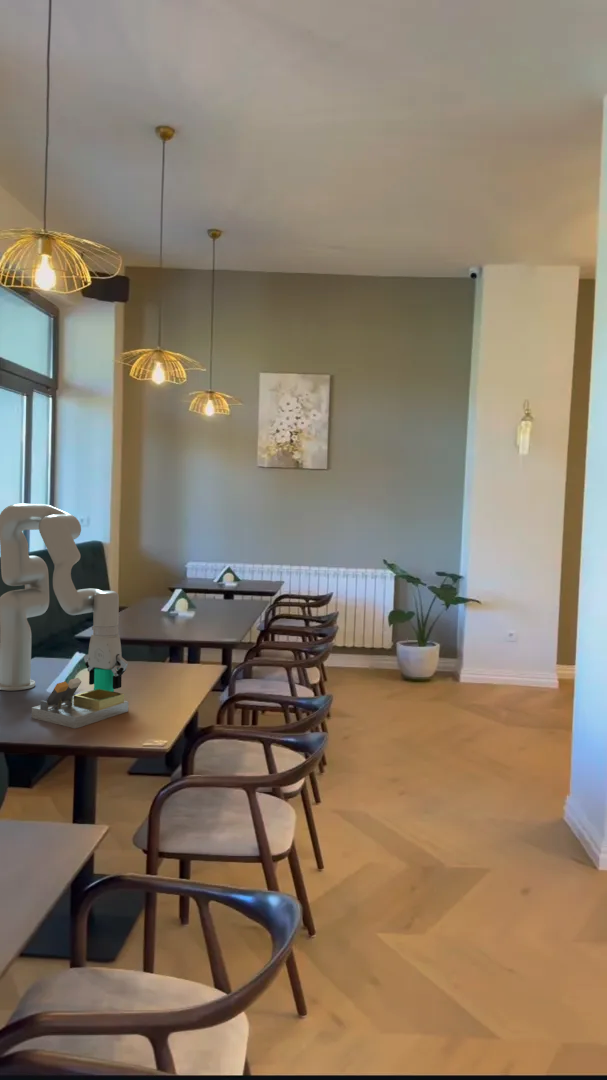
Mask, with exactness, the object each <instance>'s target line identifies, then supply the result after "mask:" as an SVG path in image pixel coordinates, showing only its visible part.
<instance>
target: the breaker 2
mask: <svg viewBox="0 0 607 1080" xmlns="http://www.w3.org/2000/svg"><path fill="white" fill-rule="evenodd" d="M67 684H68V685H69V687H68V688H67V690H66V691H65V692H64V694H63V695H62V697H61V698H62V704H63V703H67V702H69V700H71V698H72V696H74V695H75V693H76V691H77V689H78V688H79V687H80V685H81V684H82V680H81V679H80V678H79V677H76V678H72V679H69V681H68V682H67Z"/></svg>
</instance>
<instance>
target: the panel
mask: <svg viewBox="0 0 607 1080" xmlns="http://www.w3.org/2000/svg"><path fill="white" fill-rule="evenodd" d="M39 703H40V704H38V705H36V706H32V707H31V718H32V719H34V720H35V719H36V720H39V721H43V722H46V723H51V724H56V725H59V726H64V727H67V728H71V729H74V730H75V729H78V728H82V727H84V726H87V725H90V724H91V725H92V724H93V723H94V724H95V723H96V722H97V723H98V722H100V721H103V720H106V719H108V718H112V717H115V716H118V715H121V714H124V713H125V714H126V713H127V712H129V701H127V700H125V694H124V693H121V692H117V691H114V692H113V691H108V690H103V689H95V690H94V689H92V690H89V691H85V692H81V693H77V694H74V695H73V696H72V698H71V700H69V702H67V703H63V704H62V698H60V700H59V702H58V703H57V704H56V705H55V706H52V707H49V708H48V702H47V700H40V702H39Z"/></svg>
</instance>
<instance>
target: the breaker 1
mask: <svg viewBox="0 0 607 1080" xmlns="http://www.w3.org/2000/svg"><path fill="white" fill-rule="evenodd" d="M68 687H69V685H68V682H67V681H62V682H58V683H56V684H55V686H54V688H53V690H52V691H51V692H50V694H49V696H48V697H47V699H46V701H47V702H48V708H49V707H52V706H55V705H56V704H57V703H58V702H59V700H60V698H61V697H62V695H63V694H64V692H65V691H66V690H67V688H68Z"/></svg>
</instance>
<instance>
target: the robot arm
mask: <svg viewBox="0 0 607 1080" xmlns="http://www.w3.org/2000/svg"><path fill="white" fill-rule="evenodd" d="M28 530H29V531H30V530H31V531H35V530H37V531H39V534H40V536H41V538H42V541H43V544H45V547H46V550H47V552H48V554H49V556H50V558H51V561H52V562H53V566H54V569H53V574H52V589H53V592H54V594H55V597H56V599H57V601H58V604H59V605H60V607H61V608H62V610H63V611H64V612H65V613H66V614H68V615H70V616H76V615H77V616H78V615H82V614H90V613H93V620H92V622H93V623H92V625H93V626H91V630H93V631H92V634H91V635H90V639H89V644H88V645H89V646H88V653H87V654H85V655H83V660H84V663H85V664H84V665H85V667H86V668H87V672H88V684H89V685H90V686H91V685H94V669H95V668H100V669H106V670H110V669H111V670H112V672H113V673H114V676H113V689H114V690H117V689H120V688H122V676H123V675H124V674H125V671H126V670H127V668H128V666H129V665H128V664H129V662H128V661H127V660H126V659H125V658H123V656H122V644H121V637H120V635H119V623H120V622H119V617H120V616H119V615H120V613H119V611H120V610H119V606H120V595H119V593H118V592H117V591H115V590H101V589H99V588H90V587H89V588H82V589H81V588H80V589H76V586H75V584H74V582H73V580H72V574H71V573H72V568H73V567H74V565H75V564H77V562H79V561H80V559H81V553H80V550H79V549H78V547H77V544H76V542H75V540H76V539H77V538H79V537H80V536H81V533H82V525H81V523H80V521H79V520H78V517H76V516H75V515H73V514H71V513H69V512H66V511H64V510H62V509H60V508H57V507H54V506H53V505H50V504H44V503H15V504H10V505H8V506H7V507H4V509H3V510H2V511H1V512H0V571H1V572H0V573H1V574H0V575H1V579H2V581H3V583H4V584H5V585H7V586H11V587H17V586H18V587H19V586H24V588H22V589H15V590H14V589H13V590H9V591H7V592H5V593H3V594H2V595H0V690H1V691H11V692H13V691H24V690H29V689H32V688H34V687H35V686H36V680H33V679H32V678H31V673H32V672H31V671H32V630H31V629H32V628H31V626H30V623H29V621H28V618H34V617H39V616H42V615H43V614H45V613H46V611H47V610H48V608H49V606H50V579H49V569H48V565H47V563H46V561H44V559H43V558H41V556H37V555H29V543H28V540H27V537H26V535H25V534H24V531H28Z"/></svg>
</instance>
